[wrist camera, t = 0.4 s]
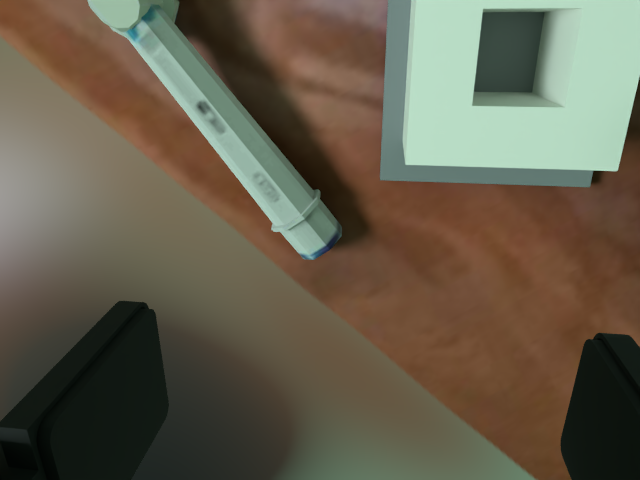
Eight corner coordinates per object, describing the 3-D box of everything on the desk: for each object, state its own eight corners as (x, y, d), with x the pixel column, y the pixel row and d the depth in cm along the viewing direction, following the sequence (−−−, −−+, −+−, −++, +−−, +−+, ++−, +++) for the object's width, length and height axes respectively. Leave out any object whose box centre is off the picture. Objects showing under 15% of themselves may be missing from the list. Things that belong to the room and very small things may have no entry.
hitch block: (392, -100, 32) (394, -138, 25) (645, -108, 30) (728, -151, 23) (380, 176, 39) (378, 210, 32) (584, 183, 37) (632, 221, 30)
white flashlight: (294, 273, 39) (34, -20, 30) (300, 232, 45) (85, -24, 36) (350, 239, 37) (94, -83, 28) (349, 201, 43) (137, -76, 34)
